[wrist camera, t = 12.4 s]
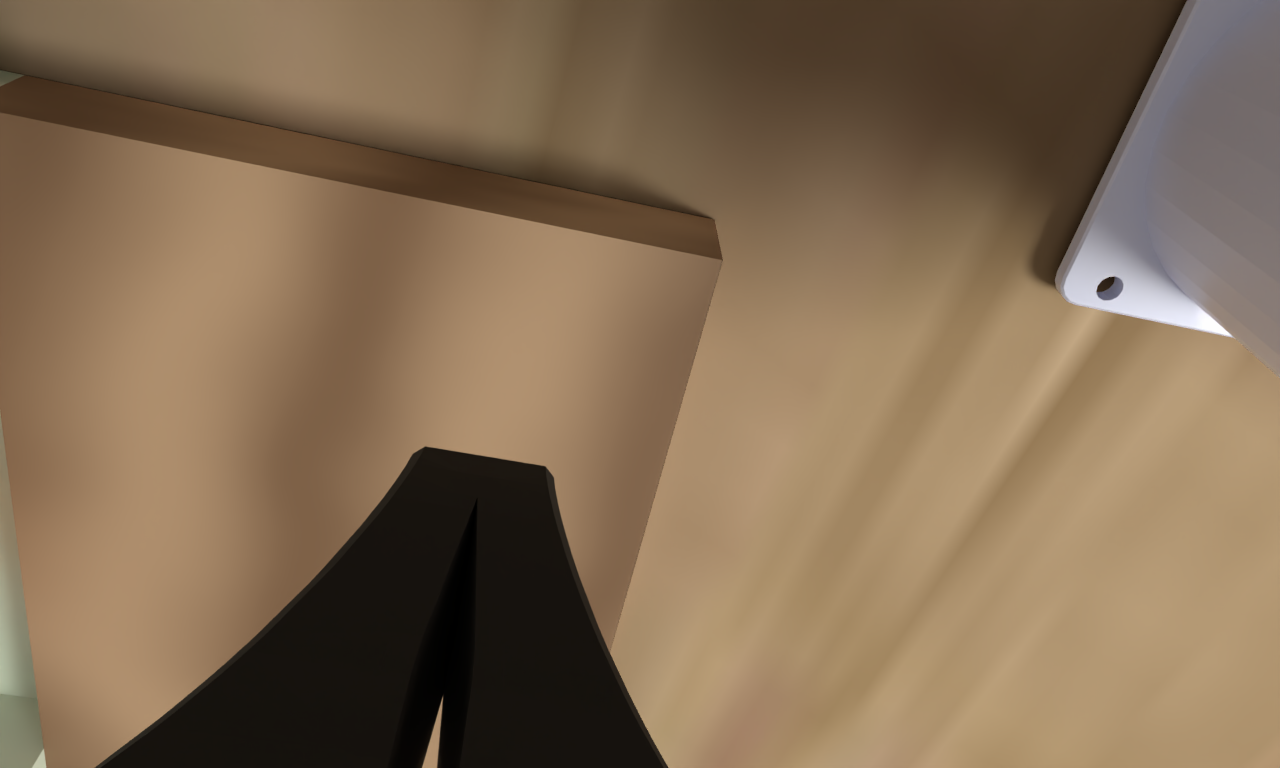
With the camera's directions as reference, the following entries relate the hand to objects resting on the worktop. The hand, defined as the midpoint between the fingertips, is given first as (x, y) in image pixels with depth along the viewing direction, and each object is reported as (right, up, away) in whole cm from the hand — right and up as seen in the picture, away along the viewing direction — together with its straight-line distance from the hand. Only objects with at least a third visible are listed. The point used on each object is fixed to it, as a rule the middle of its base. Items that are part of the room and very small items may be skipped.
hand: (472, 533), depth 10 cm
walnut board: (-5, -1, +13) cm, 14 cm away
